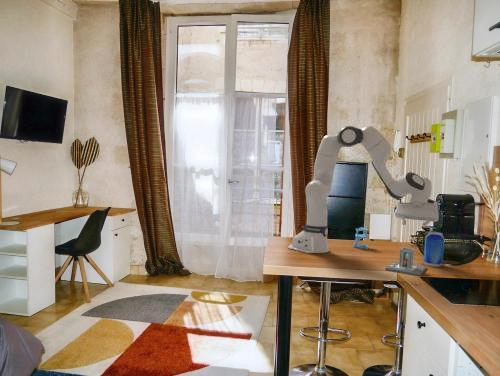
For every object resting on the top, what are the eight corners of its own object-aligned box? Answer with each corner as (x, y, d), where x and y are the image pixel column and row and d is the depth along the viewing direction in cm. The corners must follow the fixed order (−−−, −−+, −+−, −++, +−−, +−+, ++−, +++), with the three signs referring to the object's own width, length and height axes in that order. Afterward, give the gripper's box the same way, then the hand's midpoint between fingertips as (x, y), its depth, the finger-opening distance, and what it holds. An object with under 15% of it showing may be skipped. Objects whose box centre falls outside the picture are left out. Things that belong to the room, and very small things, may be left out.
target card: (385, 269, 181) (385, 267, 181) (393, 263, 194) (393, 260, 194) (419, 276, 173) (420, 273, 173) (426, 268, 186) (426, 266, 186)
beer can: (424, 265, 191) (426, 233, 190) (423, 261, 199) (425, 230, 198) (443, 268, 188) (445, 235, 187) (441, 263, 196) (443, 232, 195)
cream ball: (404, 252, 183) (410, 252, 184) (402, 256, 185) (407, 256, 186) (408, 257, 181) (413, 257, 182) (405, 261, 183) (410, 261, 184)
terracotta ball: (402, 267, 183) (399, 262, 183) (403, 263, 185) (401, 258, 185) (408, 266, 181) (406, 261, 181) (409, 263, 184) (407, 257, 183)
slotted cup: (399, 267, 183) (400, 249, 182) (401, 264, 187) (402, 247, 186) (410, 268, 180) (411, 250, 179) (412, 266, 184) (413, 249, 184)
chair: (352, 245, 233) (353, 225, 232) (367, 246, 231) (368, 226, 231) (353, 248, 226) (354, 227, 225) (368, 249, 224) (369, 228, 223)
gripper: (397, 198, 203) (391, 218, 196) (440, 201, 192) (435, 223, 185) (398, 206, 207) (392, 226, 200) (440, 209, 196) (436, 231, 189)
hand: (413, 225), depth 192 cm, fingers open, 8 cm apart
